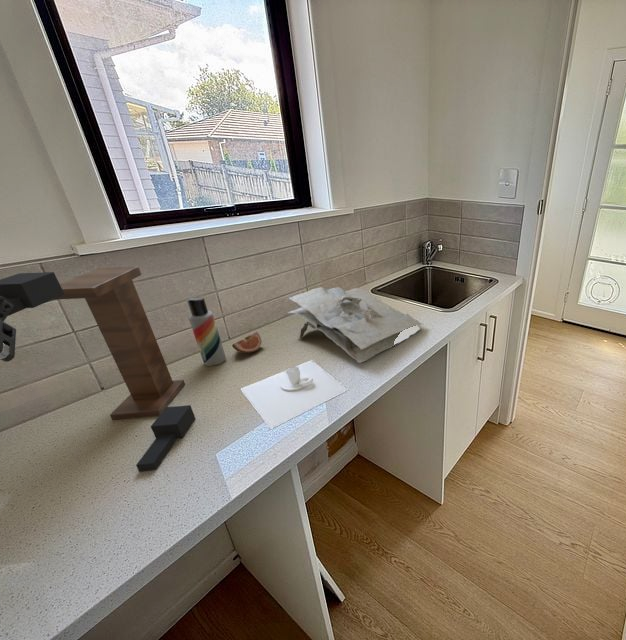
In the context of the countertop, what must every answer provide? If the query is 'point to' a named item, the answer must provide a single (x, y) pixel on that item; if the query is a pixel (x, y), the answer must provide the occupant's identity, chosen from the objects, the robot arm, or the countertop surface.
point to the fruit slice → (248, 344)
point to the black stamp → (30, 289)
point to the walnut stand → (127, 338)
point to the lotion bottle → (206, 332)
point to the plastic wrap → (352, 319)
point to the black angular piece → (166, 435)
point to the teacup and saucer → (292, 392)
